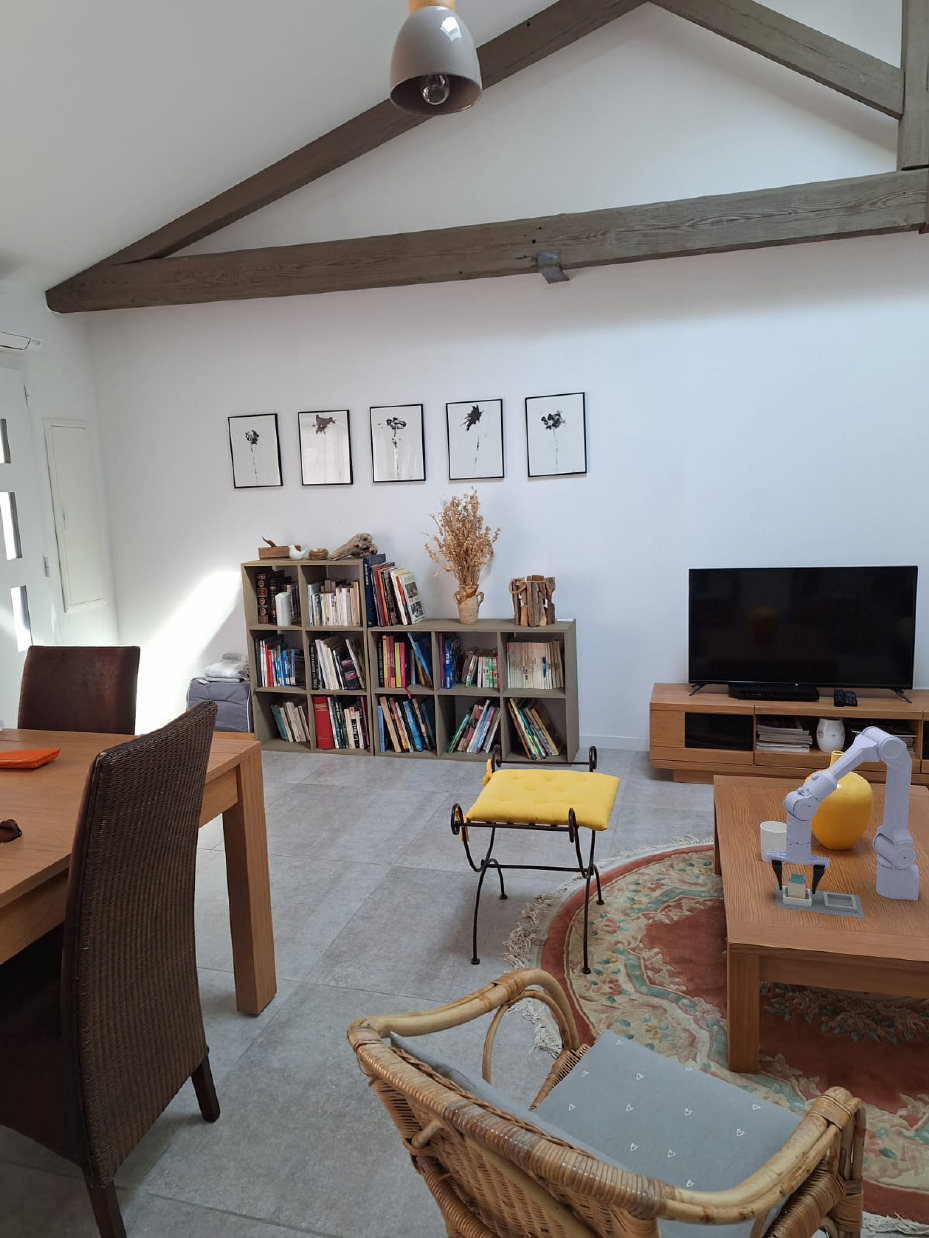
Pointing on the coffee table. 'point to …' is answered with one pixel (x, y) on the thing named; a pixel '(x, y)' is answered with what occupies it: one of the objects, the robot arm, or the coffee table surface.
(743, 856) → the coffee table surface
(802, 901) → the port
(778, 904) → the panel plate
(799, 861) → the robot arm
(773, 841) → the white cup
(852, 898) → the frame
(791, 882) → the plug
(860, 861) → the coffee table surface
